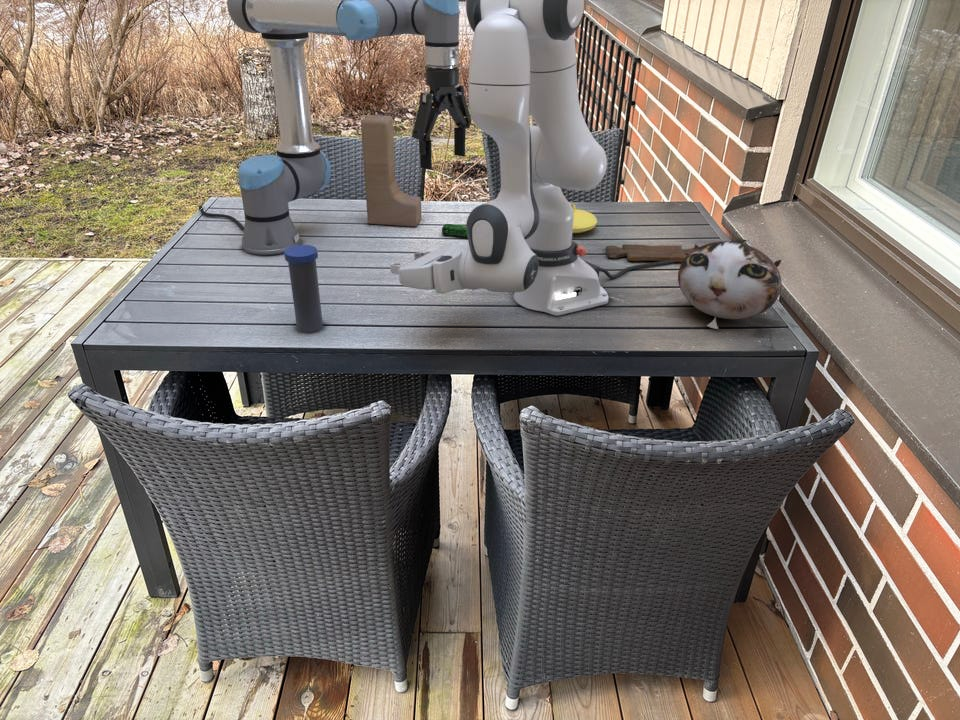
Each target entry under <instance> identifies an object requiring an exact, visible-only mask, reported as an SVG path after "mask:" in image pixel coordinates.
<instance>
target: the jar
mask: <svg viewBox="0 0 960 720" xmlns="http://www.w3.org/2000/svg"><path fill="white" fill-rule="evenodd" d="M287 264H288V271H289V279H290V288H291V295H292V302H293V308H294V309H293V311H294V316H295V325H296V330H297V331H298V332H300V333H303V334H311V333H312V334H313V333H316V332H319V331H320V330H322V329H323V328H324V323H323V313H322V304H321V296H320V295H321V294H320V287H319V277H318V269H317V259H316V260H314V261H312V262H309V263H304V264H293V263H289V262H287Z"/></svg>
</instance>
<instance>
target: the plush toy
mask: <svg viewBox="0 0 960 720" xmlns="http://www.w3.org/2000/svg"><path fill="white" fill-rule="evenodd" d="M693 248H694V250H693V251H692V252H691V253H689V254H688V255H687V256H686V257H685V259H684V260H683V261H682V262H680V265H679V269H678V272H677V282H678V286H679V289H680V291H681V293H682V295H683V296H684V298H685V300H686V301H687V302H689V303H690V304H691V306H693V307H694V308H696V309H697V310H698V311H701V313H705V314H706V315H708V316H712V317H714V319H713V320H712V321H711V322H709V323H708V324H706V325H705V326H706V327H708V328H710V329H715V330H720V329H719V326H718V324H717V318H719V319H722V320H723V319H724V320H745V319H749V318H753V317H757V316H758V315H761V314H763V313H764V312H766V311H768V310H769V309H770V308H771V307H772V306H773V305H774V304H775V303H776V302H777V300H778V298H779V297H780V294H781V291H782V285H783V283H782V276H781V272H780V271H779V268H778V267H779V266H780V265H781V263H782V259H779V260H776V261H773V259H771V258H770V257H769V256H768V255H767V254H765V253H764V252H763V251H761V250H759V249H758V248H756V247H753V246H751V245H749V244H745V243H743V242H739V241H737V242H730V241H727V240H726V241H725V240H724V241H714V242H710V243H709V242H708V243H705V244H703V245H701V246H698V244H696V243H695V244H694V246H693Z"/></svg>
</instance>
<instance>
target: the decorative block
mask: <svg viewBox="0 0 960 720" xmlns="http://www.w3.org/2000/svg"><path fill="white" fill-rule="evenodd" d="M360 130H361V131H360V132H361V145H362V160H363V174H364V175H363V176H364V188H365V201H366V203H365V204H366V217H367V223H368V224H370V225H382V226H383V225H384V226H385V225H386V226H398V227H400V226H401V227H415V228H416V227H418V225H419V223H420V222H421V220H422V217H423V215H422V198H421V197H420V196H416V195H411V194H406V193H405V192H404V191H402V190H401V188H400V187H399V183H398V181H397V179H396V157H395V137H394V118H393V116H392V115H381V114H379V115H378V114H368V115H366V116H365V117H363V118H362V119H361V120H360Z"/></svg>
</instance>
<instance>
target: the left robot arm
mask: <svg viewBox="0 0 960 720" xmlns="http://www.w3.org/2000/svg"><path fill="white" fill-rule="evenodd" d="M226 7H227V12H228V15H229V17H230V19H231V21H232V22H233V23H234V25H236V26H237V28H239V29H240V30H242V31H244V32H246V33H250V34H260V35H261V40H262V41H264V42H265V43H266V44H267V46H268V48H269V57H270V63H271V72H272V81H273V88H274V96H275V103H276V111H277V119H278V128H279V135H280V142H279V143H278V145H277V146H276V148H275V149H276V150H275V151H276V154H262V155H254V156H253V157H250V158H247V159H245V160H244V161H242V162H241V163H240V164H239V166H238V168H237V174H238V185H239V190H240V194H241V195H240V196H241V201H242V208H243V212H244V213H243V215H244V219H245V220H244V226H243V224H242V223H241V222H240V221H239V220H237V219H236V218H235V217H234V216H231V215H229V214H224V213H210V212H206V211H205V210H204V208H202V207H203V205H201V204H200V205H199V206H198V210H199V212H200V213H201V214H202V215H203V216H206V217H211V218H225V219H229V220H231V221H233V223H235V224H236V225H237V226H238V227H239V228H240V229H241V230H242V231H243V235H242V237H241V246H242V249H243V251H244V252H246V253H248V254H252V255H255V256H256V255H257V256H275V255H281V254H282V255H283V254H284V251H285V250H286V249H287V248H289V247H291V246H295V245H301V241H300V239H301V237H300V234H299V233H298V231H297V229H296V227H295V225H294V223H293V220H292V218H291V216H290V207H289V203H291V202H293V201H296V200H299V199H302V198H305V197H309V196H312V195H315V194H317V193H318V192H321V191H322V190H324V189H325V188H326V187H328V185H329V183H330V180H331V175H332V168H331V163H330V160H329V158H327V155H326V153H325V152H324V151H323V150H321V146H320V144H319V143H318V142H316V141H315V140H314V134H313V133H314V132H313V123H312V115H311V114H312V113H311V104H310V94H309V93H310V92H309V84H308V75H307V65H306V55H305V44H306V43H307V41H308V40H309V39H310V36H309V34H310V33H311V34H319V35H320V34H321V35H328V36H329V35H330V36H339V37H345V38H346V39H347V40H350V41H359V42H360V41H361V42H362V41H363V42H364V41H368V40H373V39H378V38H385V37H392V36H400V35H418V36H424V64H425V65H426V67H425V72H424V73H425V84H426V85H427V86H428V87H429V92H420V94H419V104H418V109H417V112H416V117H415V121H414V125H413V130H412V132H411V138H412V139H415V140H417V141H418V153H419V159H420V160H419V163H420V165H419V168H420V169H425V170H432V169H433V163H432V162H433V161H432V160H433V157H432V139H430V136H431V135H432V133H433V129H434V128H435V127H434V126H435V125H436V122H437V120H438V117H439V115H441V114H442V112H444V111H446V110H447V112H448V113H449V115H450V117H451V119H452V120H453V123H454V124H455V126H456V127H453V130H454V131H453V155H454V156H456V157H463V158H464V157H466V136H467V135H466V133H467V132H466V130H467V129H470V127H471V124H472V121H473V120H472V118H471V113H470V109H469V105H468V102H467V99H466V96H465V87H464V85H462V84H460V68H459V67H458V65H459V64H460V41H459V40H460V39H459V38H460V34H459V33H460V31H459V30H460V13H461V10H460V3H459V0H226ZM201 208H202V209H201ZM200 209H201V210H200Z"/></svg>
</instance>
